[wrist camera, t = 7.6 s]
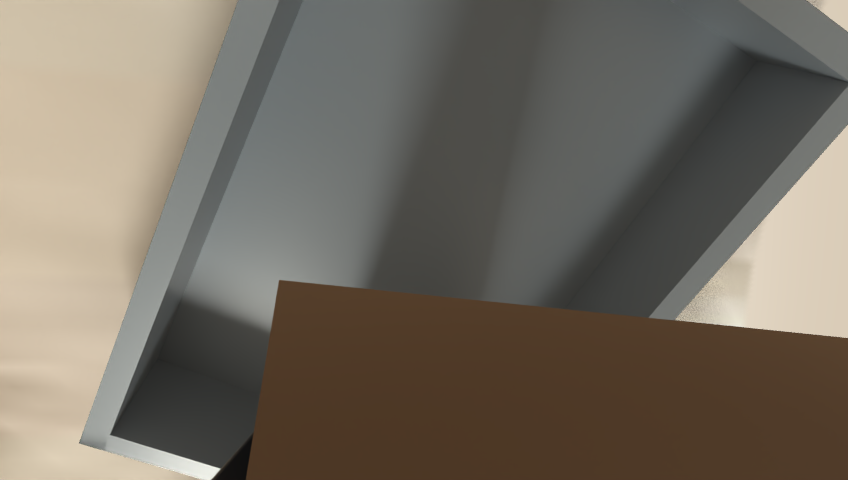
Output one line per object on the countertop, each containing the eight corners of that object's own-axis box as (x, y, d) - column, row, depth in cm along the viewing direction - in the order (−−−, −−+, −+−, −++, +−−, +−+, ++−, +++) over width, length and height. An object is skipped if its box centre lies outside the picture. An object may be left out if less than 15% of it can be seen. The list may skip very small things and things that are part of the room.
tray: (452, 462, 19) (463, 557, 16) (139, 353, 16) (78, 443, 13) (776, 47, 13) (896, 69, 10) (370, -242, 10) (360, -340, 7)
